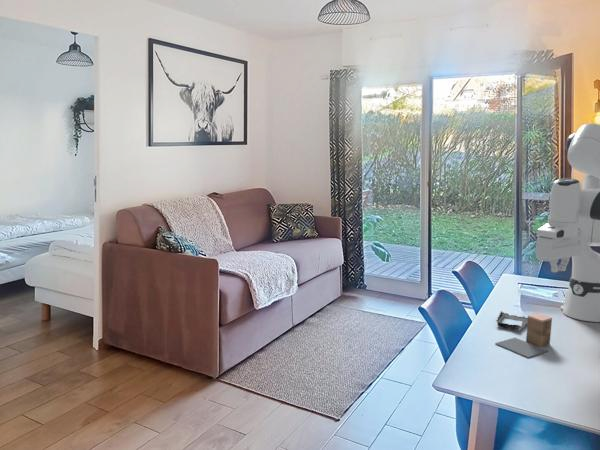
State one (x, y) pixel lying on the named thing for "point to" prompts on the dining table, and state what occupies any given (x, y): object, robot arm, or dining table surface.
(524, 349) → the charcoal mat
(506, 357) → the dining table surface
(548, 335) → the brown rectangular block
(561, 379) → the dining table surface
